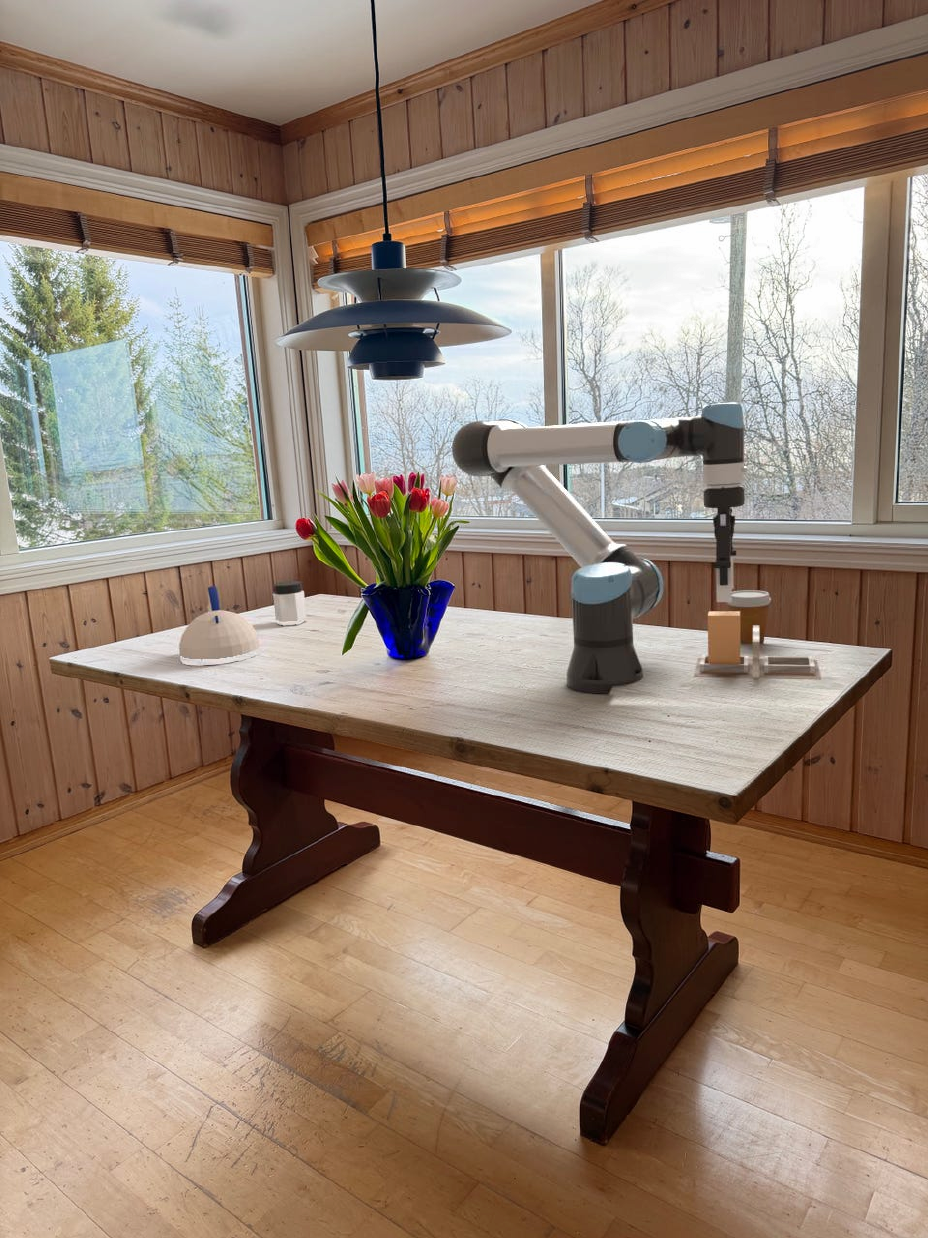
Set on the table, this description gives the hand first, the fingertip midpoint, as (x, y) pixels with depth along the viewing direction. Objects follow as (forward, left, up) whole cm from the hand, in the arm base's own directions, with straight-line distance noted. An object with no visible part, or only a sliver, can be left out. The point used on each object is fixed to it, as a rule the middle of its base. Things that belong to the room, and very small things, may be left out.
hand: (725, 595), depth 170 cm
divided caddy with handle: (+5, -3, -16) cm, 17 cm away
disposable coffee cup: (+17, +17, -16) cm, 29 cm away
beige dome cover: (-96, +78, -17) cm, 125 cm away
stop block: (0, 0, -15) cm, 15 cm away
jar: (-75, +109, -16) cm, 133 cm away
